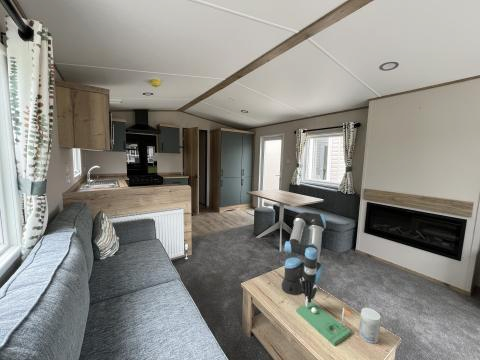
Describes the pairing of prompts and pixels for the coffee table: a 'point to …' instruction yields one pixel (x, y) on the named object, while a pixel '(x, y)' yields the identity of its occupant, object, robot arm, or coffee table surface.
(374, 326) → the supplement tub
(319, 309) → the putting strip
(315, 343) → the coffee table surface
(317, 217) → the robot arm
